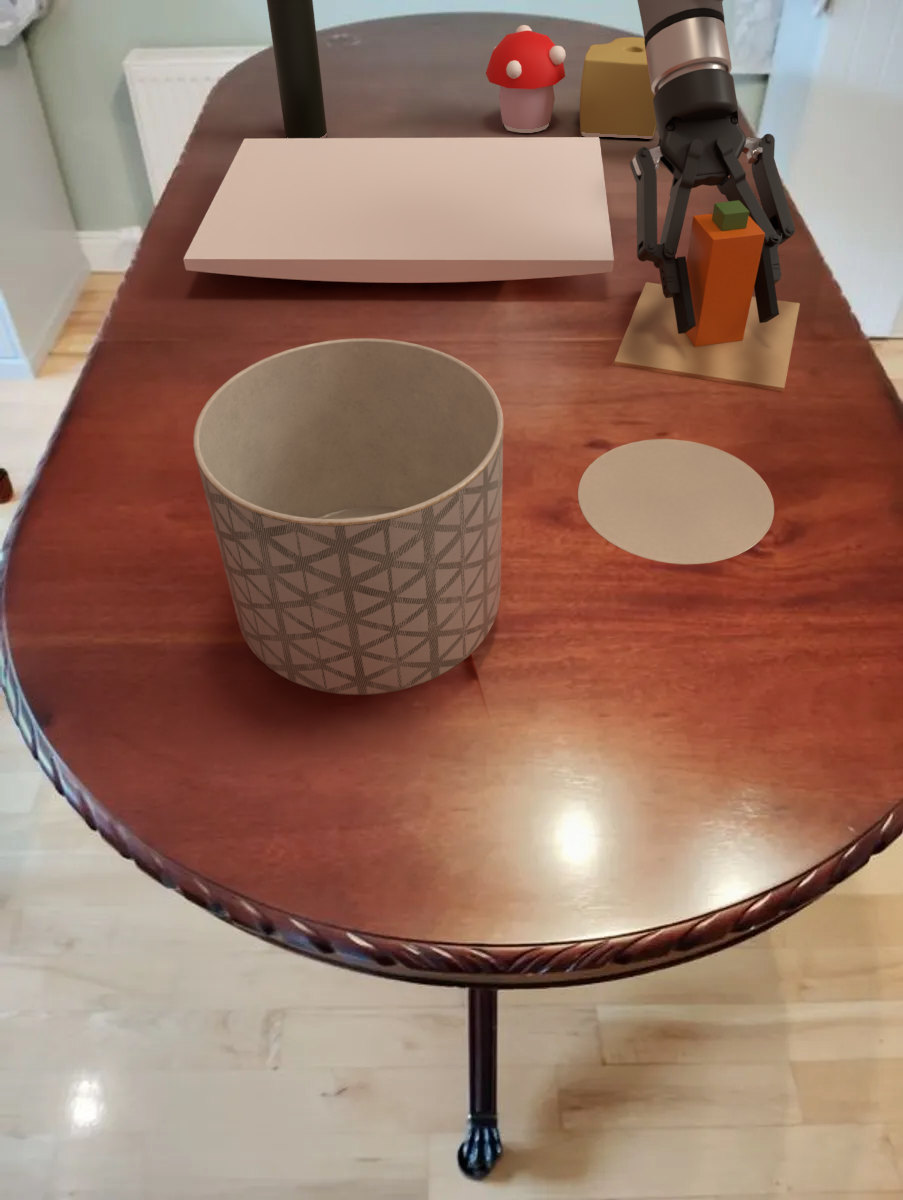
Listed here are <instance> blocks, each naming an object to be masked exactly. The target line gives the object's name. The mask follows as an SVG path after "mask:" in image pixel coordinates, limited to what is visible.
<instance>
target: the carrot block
mask: <svg viewBox="0 0 903 1200" xmlns="http://www.w3.org/2000/svg"><path fill="white" fill-rule="evenodd" d="M689 235H690V236H689V242H688V248H687V254H686V264H687V270H688V277H689V283H690V290H691V296H692V303H693V309H694V316H695V322H696V326H694V327H693V328H692V329H690V330H689V331H688V332H686V334H687V336H688V337H689V339H690V340H691V341H692V343H693V344H694V346H695V347H696V346H704V345H711V344H718V343H726V342H733V341H741V340H743V337H744V332H745V328H746V323H747V318H748V313H749V309H750V304H751V299H752V297H753V294H754V285H755V280H756V275H757V270H758V265H759V261H760V256H761V251H762V246H763V242H764V237H765V233H764V232H763V230H762V229H761V228H760V227H759V226H758V225H757V224H756V223H755V222H754V221H753V220H752V219H751V217H750V216H749V211H748V209H747V208H746V207H745V206H744V205H743V204H742V203H741V202H740V201H739V200H738V201H722V202H720V201H719V202H715V203H714V204H713V209H712V213H706V214H697V215H693V216H692V223H691V228H690V234H689Z"/></svg>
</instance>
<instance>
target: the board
mask: <svg viewBox="0 0 903 1200" xmlns="http://www.w3.org/2000/svg"><path fill="white" fill-rule="evenodd" d="M605 181H606V180H605V173H604V164H603V157H602V149H601V139H600V138H599V137H581V136H579V137H578V136H572V137H570V136H567V137H565V136H563V137H561V136H560V137H557V136H556V137H555V136H554V137H553V136H552V137H549V136H548V137H547V136H545V137H541V136H540V137H539V136H536V137H535V136H534V137H533V136H532V137H528V136H527V137H333V138H332V137H327V138H286V137H285V138H284V137H283V138H271V137H270V138H265V137H264V138H244V139H243V141H242V143H241V144H240V146H239V148H238V150H237V152H236V154H235V156H234V158H233V160H232V162H231V163H230V166H229V168H228V170H227V172H226V174H225V176H224V178H223V180H222V182H221V183H220V186H219V188H218V189H217V192H216V193H215V195H214V197H213V199H212V201H211V203H210V205H209V207H208V209H207V211H206V213H205V215H204V217H203V219H202V221H201V223H200V225H199V226H198V228H197V231H196V233H195V235H194V236H193V238H192V240H191V243H190V244H189V246H188V249H187V250H186V252H185V255H184V256H183V258H182V259H183V264H184V268H185V271H191V272H200V273H208V274H209V273H210V274H220V275H232V276H239V277H240V276H241V277H242V276H243V277H254V278H266V279H268V278H269V279H281V280H297V281H299V280H300V281H320V282H343V283H344V282H345V283H385V284H386V283H387V284H388V283H390V284H391V283H397V284H399V283H401V284H402V283H403V284H404V283H405V284H406V283H407V284H409V283H411V284H413V283H414V284H415V283H416V284H417V283H418V284H420V283H469V282H471V283H473V282H492V281H516V280H531V279H532V280H533V279H546V278H547V279H548V278H557V277H560V278H561V277H571V276H582V275H583V276H584V275H593V274H594V275H595V274H604V273H605V274H606V273H613V272H614V264H615V257H614V247H613V240H612V239H613V238H612V231H611V223H610V214H609V206H608V198H607V190H606V182H605Z"/></svg>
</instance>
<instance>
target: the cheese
mask: <svg viewBox="0 0 903 1200" xmlns="http://www.w3.org/2000/svg"><path fill="white" fill-rule="evenodd" d="M644 42H645V39H644V37H639V36H638V37H634V36H632V37H631V36H629V37H628V36H627V37H618V38H614V39H613V40H612V41H611V42H608V43H599V44H597V43H596V44H591V45H590V46H589V48H588V50H587V52H586V54H585V56H584V60H583V69H582V75H581V84H580V91H579V92H580V93H579V95H580V96H579V129H580V133H581V132H585V133H600V134H617V135H637V136H653V137H654V135H655V132H656V129H657V124H656V118H655V111H654V105H653V99H654V96H655V94H654V93H653V92H652V90H651V84H650V77H649V71H648V64H647V58H646V49H645V43H644Z"/></svg>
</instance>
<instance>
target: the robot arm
mask: <svg viewBox="0 0 903 1200" xmlns="http://www.w3.org/2000/svg"><path fill="white" fill-rule="evenodd" d="M723 2H724V0H637V5H638V11H639V15H640V20H641V27H642V32H643V38H644V39H645V42H644V43H645V49H646V58H647V64H648V71H649V77H650V84H651V90H652V92H653V93H654V94H655V96H654V99H653V105H654V111H655V118H656V124H657V126H656V129H657V130H656V131H657V134H658V138H659V139H658V144H657V146H655V147H652V148H648V147H645V146H641V147H640V148H639V149H638V150H637V152H636V153H635V154H634V156H633V158H631V160H630V162H629V166H630V169H631V172H632V175H633V177H634V180H635V183H636V186H635V187H636V189H635V190H636V195H635V196H636V257H637V259H638V260H639V261H640V262H646V261H648V262H652V263H653V266H654V268H656V269H658V270H659V277H660V284H662V290H663V294H664V296H665V298H671V297H673V303H674V309H675V316H676V322H677V329H678V334H681V333H686V332H688V331H689V330H690V329H692V328H693V327H694V326H696V322H695V316H694V309H693V303H692V296H691V290H690V283H689V277H688V270H687V264H686V261H687V256H677V257H676V255H677V253H678V248H679V243H680V239H681V235H682V232H683V231H682V230H683V226H684V221H685V217H686V214H687V209H688V205H689V200H690V195H691V191H692V189H695V188H698V187H701V186H708V187H714V186H716V187H717V190H718V191H719V193H720V194H721V195H724V196H725V198H726V199H727V202H729V201H738V200H739V201H740V202H741V203H742V204H743V205H744V206H745V207H746V208H747V209H748V211H749V216H750V217H751V219H752V220H753V221H754V222H755V223H756V224H757V225H758V226H759V227H760V228H761V229H762V230H763V232H764V233H765V237H764V242H763V246H762V251H761V256H760V261H759V265H758V270H757V275H756V280H755V285H754V289H753V291H754V295H755V296H754V297H756V303H757V310H758V317H759V323H764V322H768V321H769V320H771V319H773V318H774V317H776V316H777V315H779V310H778V303H777V300H778V297H777V291H776V283H778V282H779V281H781V278H782V270H781V269H782V268H781V264H780V255H779V246H780V245H782V244H784V243H785V242H787V240H789V239H790V238H791V237H793V236H794V235H795V233H796V227H795V223H794V220H793V217H792V214H791V209H790V206H789V203H788V200H787V197H786V193H785V189H784V187H783V183H782V179H781V177H780V176H781V175H780V173H779V170H778V166H777V163H776V160H775V146H776V140H775V139H776V138H775V136H774V135H773V134H771V133H766V134H763V136H762V137H751V136H747V135H746V133H745V132H744V131H743V129H742V127H741V126H740V123H739V107H738V100H737V94H736V86H735V80H734V76H733V75H732V74H731V72H732V68H733V67H732V60H731V53H730V48H729V43H728V34H727V27H726V21H725V13H724V6H723V5H724V4H723ZM742 153H744V154H745V156H746V163H747V164H750V165H751V173H752V178H753V181H754V184H755V187H756V191H757V194H758V197H759V199H758V198H757V196H756V195H755V193H754V192H753V189H752V187H751V186H750V183H749V182H748V180H747V178H746V176H747V175H746V171H745V169H744V167H743V165H742V164H741V162H740V160H739V159H740V157H741V155H742ZM660 163H661V164H662V165H663V166H664V168H665V169H666V170H668V171H669V173H670V174H671V175H672V176H673V178H672V180H671V185H670V190H669V200H668V205H667V209H666V213H665V218H664V222H663V226H662V229H661V235H660V239H659V243H658V177H657V174H658V173H657V171H658V169H659V167H660ZM759 200H760V201H759Z"/></svg>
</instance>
